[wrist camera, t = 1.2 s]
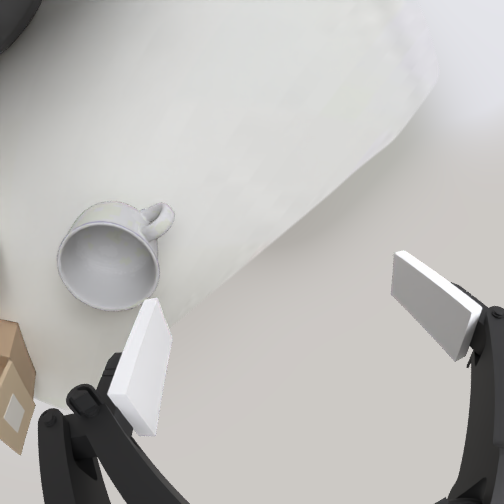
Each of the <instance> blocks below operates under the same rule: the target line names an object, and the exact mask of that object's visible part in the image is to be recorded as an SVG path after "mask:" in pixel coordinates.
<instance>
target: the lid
mask: <svg viewBox="0 0 504 504" xmlns="http://www.w3.org/2000/svg"><path fill="white" fill-rule="evenodd" d="M7 361H8V363H7V365H6V367H5V369H4V371H3V373H2V376H1V378H0V439H1V440H2V441H3V442H4V443H5V444H6V445H8V446H9V447H10V448H11V449H13V450H14V451H15V452H16V453H18V454H19V455H21V453H22V449H23V445H24V441H25V438H26V434H27V431H28V427H29V424H30V420H31V418H32V415H33V412H34V409H35V406H36V405H35V403H34V401H33V400H32V398H31V396H30V395H29V393H28V391H27V389H26V387H25V386H24V384H23V382H22V380H21V378H20V376H19V374H18V372H17V370H16V368H15V366H14V364H13V362H12V361H11V359H10V358H8V359H7Z"/></svg>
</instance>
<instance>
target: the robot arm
mask: <svg viewBox="0 0 504 504" xmlns="http://www.w3.org/2000/svg"><path fill="white" fill-rule="evenodd" d="M41 1H42V0H0V54H1V53H2V52H4V51H5V50H6V49H7V48H8V47H9V46H10V45H11V44H12V43H13V42H14V41H15V40H16V38H17V37H18V36H19V35H20V34H21V33H22V31H23V30H24V29H25V27H26V26H27V25H28V23H29V22H30V20H31V19H32V17H33V16H34V14H35V13H36V11H37V9H38V7H39V5H40V3H41ZM391 295H392V296H393V297H394V298H395V299H396V300H397V301H398V302H399V303H400V304H401V305H402V306H403V307H404V308H405V309H406V310H407V311H408V312H409V313H410V314H411V315H412V316H413V317H414V318H415V319H416V320H417V321H418V322H419V323H420V324H421V325H422V327H423V328H425V330H426V331H427V332H428V333H429V334H430V335H431V336H432V337H433V338H434V339H435V340H436V341H437V343H439V345H440V346H441V347H442V348H443V349H444V350H445V351H446V352H447V354H448V355H449V356H450V357H451V358H452V359H453V360H454V361H455V362H456V361H457V360H459V359H461V358H463V357H465V356H466V354H467V351H468V349H469V346H470V347H471V348H472V349H473V352H472V354H471V357H470V359H469V362H468V364H467V368H468V367H469V365H470V364H471V395H470V408H469V418H468V427H467V434H466V441H465V447H464V453H463V457H462V463H461V467H460V472H459V476H458V479H457V481H456V483H455V484H454V486H453V487H452V489H451V491H450V493H449V496H448V499H446V497H445V498H443V499H442V500H440V501H438V502H437V503H435V504H504V309H503V308H501V307H498V306H492V307H490V308H488V307H487V306H485V305H484V304H483V303H482V302H480V301H479V300H478V299H477V298H475V297H474V296H471V294H470V293H469V292H466V290H465V289H463V288H462V287H460V286H459V285H457V284H454V283H452V282H451V283H450V282H449V281H447V280H446V279H445V278H443V277H442V276H441V275H439V274H438V273H436V272H435V271H434V270H432V269H431V268H429V267H428V266H427V265H425V264H424V263H422V262H421V261H419V260H418V259H416V258H415V257H413V256H412V255H411V254H409V253H407V252H406V251H405V250H404V251H399V252H395V253H394V261H393V276H392V287H391ZM172 340H173V338H172V335H171V333H170V330H169V327H168V325H167V322H166V319H165V317H164V314H163V311H162V308H161V305H160V303H159V300H158V298H152V299H145V300H144V302H143V304H142V307H141V309H140V311H139V314H138V316H137V318H136V321H135V323H134V325H133V328H132V330H131V333H130V335H129V338H128V340H127V343H126V345H125V348H124V350H123V353H115V354H114V355H113V356H112V357H111V358H110V359H109V360H108V362H107V364H106V367H105V370H104V372H103V374H102V377H101V379H100V382H99V384H98V387H97V389H96V390H95V389H94V387H93V386H92V385H89V384H81V385H78V386H76V387H74V388H73V389H72V390H71V391H70V392H69V393H68V395H67V398H66V403H67V405H68V406H69V408H70V409H71V410H72V411H73V412H74V414H69V415H65V416H64V415H63V414H62V413H61V412H60V411H59V410H58V409H55V408H53V409H48V410H46V411H45V412H43V414H41V416H40V418H39V421H38V448H39V463H40V474H41V483H42V490H43V497H44V502H45V504H111V503H110V500H109V497H108V494H107V491H106V488H105V484H104V481H103V478H102V474H101V470H100V467H99V463H98V459H97V457H98V458H99V460H100V462H101V464H102V466H103V467H104V469H105V471H106V472H107V474H108V476H109V477H110V479H111V480H112V482H113V483H114V485H115V487H116V488H117V490H118V491H119V493H120V494H121V495H122V497H123V499H124V500H125V501H126V503H127V504H190V503H189V502H188V501H187V500H185V499H184V498H183V496H182V495H181V494H180V493H179V492H178V491H177V490H176V489H175V488H174V487H173V486H172V485H171V484H170V483H169V482H168V480H167V479H165V477H164V476H163V475H162V474H161V473H160V471H159V470H158V469H157V468H156V467H155V465H153V463H152V462H151V461H150V459H149V458H148V457H147V456H146V454H145V453H144V452H143V450H142V449H141V448H140V447H139V445H138V444H137V443H136V441H135V440H134V439H133V438H132V431H133V429H134V430H135V432H136V433H137V434H138V435H139V436H156V432H157V424H158V418H159V412H160V405H161V399H162V393H163V388H164V381H165V376H166V371H167V366H168V360H169V355H170V350H171V345H172Z"/></svg>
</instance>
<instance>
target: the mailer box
mask: <svg viewBox="0 0 504 504" xmlns="http://www.w3.org/2000/svg"><path fill="white" fill-rule="evenodd" d="M8 358H10V359H11V361H12V362H13V364H14V366H15V368H16V370H17V372H18V374H19V376H20V378H21V380H22V382H23V384H24V386H25V387H26V389H27V391H28V393H29V395H30V396H31V398H32V400H33V395H34V384H35V375H36V371H35V369H34V367H33V364H32V362H31V359H30V356H29V354H28V351H27V349H26V346H25V343H24V340H23V337H22V334H21V331H20V328H19V325H18V323H16V322H11V321H6V320H2V319H0V378H1V376H2V373H3V371H4V369H5V367H6V365H7V363H8V361H7V359H8Z"/></svg>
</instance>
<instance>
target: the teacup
mask: <svg viewBox="0 0 504 504" xmlns="http://www.w3.org/2000/svg"><path fill="white" fill-rule="evenodd" d="M174 218H175V213H174V210H173V209H172V208H171V207H170V206H169V205H168V204H166V203H158V204H155V205H153V206H151V207H149V208H147V209H142V210H141V211H139V210H137V209H136V208H134V207H132V206H130V205H128V204H125V203H122V202H117V201H107V202H101V203H98V204H95V205H93V206H91V207H89V208H88V209H86V210H85V211H84V212H83V213H82V214H81V215H80V216H79V217H78V218H77V220H76V221H75V222H74V224H73V226H72V227H71V229H70V231H69V232H68V234H67V236H66V237H65V238H64V239H63V241H62V243H61V245H60V248H59V251H58V255H57V266H58V271H59V275H60V277H61V279H62V281H63V283H64V284H65V286H66V288H67V289H68V290H69V291H70V292H71V293H72V295H73V296H74V297H75V298H77V299H79V300H80V301H81V302H83V303H85V304H86V305H88V306H91V307H93V308H96V309H100V310H104V311H123V310H128V309H132V308H135V307H137V306H139V305H141V304H142V303H143V302H144V300H145V299H148V298H149V297H150V296H151V295H152V294H153V292H154V291H155V289H156V287H157V285H158V280H159V274H160V271H159V263H158V248H157V240H156V239H157V238H159V237H161V236H162V235H163V234H165V233H166V232H167V231H168V229H169V228H170V227H171V225H172V224H173V222H174ZM153 220H155V221H154V222H153V223H151V224H150V222H151V221H153Z"/></svg>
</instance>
